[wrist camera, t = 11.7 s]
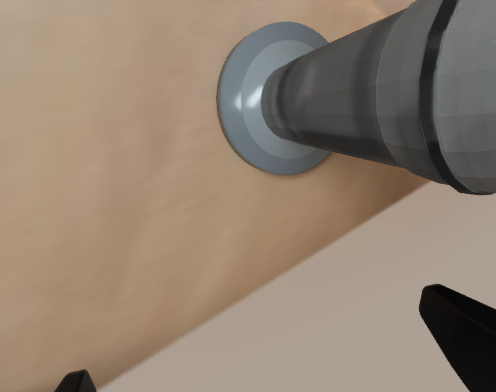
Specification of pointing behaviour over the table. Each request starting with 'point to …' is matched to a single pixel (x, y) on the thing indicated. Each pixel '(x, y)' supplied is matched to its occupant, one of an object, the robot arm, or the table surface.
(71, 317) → the table surface
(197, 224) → the table surface
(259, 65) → the slate dish
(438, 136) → the beverage cup
